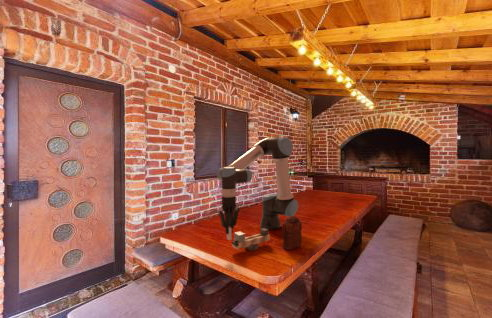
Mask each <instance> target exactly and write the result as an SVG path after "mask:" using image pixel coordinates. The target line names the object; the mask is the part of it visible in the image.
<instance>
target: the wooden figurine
mask: <svg viewBox="0 0 492 318" xmlns="http://www.w3.org/2000/svg"><path fill="white" fill-rule="evenodd" d="M302 230H303V224H302V221H300V219H299V218H298V217H297V216H295V215H294V216H287V218H286V219H285V221H284V222H283V224H282V231H281V233H282V234H281V236H282V239H283V240H282V249H284V250H294V249H297V248H300V247H301V245H302V239H303V238H302V237H303V236H302Z"/></svg>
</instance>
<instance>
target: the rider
mask: <svg viewBox="0 0 492 318" xmlns="http://www.w3.org/2000/svg"><path fill="white" fill-rule="evenodd" d="M245 237H246V233H244V232H243V231H241V230H240V231H236V232H234V233H233V240H235V241H237V242H243V241H245Z"/></svg>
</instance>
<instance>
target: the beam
mask: <svg viewBox="0 0 492 318" xmlns="http://www.w3.org/2000/svg"><path fill="white" fill-rule="evenodd" d="M270 240H271V237H270V234H269V229H265V228H260V233H257V234H253V235H249V236H245V241H243V242H237V241H235V240H234V239H233V240H231V247H232V248H234V249H235V250H239V249H247V250H248V251H250V252H252V251H255V250H259V244H261V243H265V242H268V241H270Z"/></svg>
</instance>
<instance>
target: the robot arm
mask: <svg viewBox="0 0 492 318" xmlns="http://www.w3.org/2000/svg"><path fill="white" fill-rule="evenodd" d="M293 151H294V145H293V142H292V140H291V139H290V138H289V137H285V136H278V137H266V138H264V139H261V140H260V141H258V142H257V143H255V144H253V146H251V149H249V150H248V151H246V152H245V153H244V154H243V155H241V156H240V157H239V158H237V159H236V160H234V161H233V162H232V163H230V164H229V165H227V166H224V167H220V168H219V169H217V172H216V176H217V179H218V180H219V181H221V196H222V197H221V208H220V209H218V210H217V214H218V215H219V218H220V224H221V227H222V228H224V229H225V230H224V231H225V234H226V239H227V240H228V241H233V240H232V238H233V237H232V234H234V233H233V232H234V228H235V227H236V225H237V223H238V222H237V221H238V216H239V212H240V210H241V208H240V207H238V206H237V204H236V202H237V197H236V193H237V191H236V190H237V189H236V188H237V185H238V184H246V183H249V182H251V181H252V178H253V173H252V171H251V170H250V169H246V168H247V167H249V166H250V165H251V164H253V163H255V161H256V160H257V159H259V158H263V157H264V156H268V155H271V156H272V157H271V158H272V160H274V162H275V163H274V165H275V174H276V175H275V176H276V184H277V192H278V193H277V194H276V193H272V194H271V193H270V194H264V195H263V196H262V199H261V206H262V207H261V208H262V209H261V210H262V211H261V212H262V214H261V215H262V216H261V219H260V222H259V227H260V229H262V228H265V229H268V230H278V229H281V227H282V223H281V219H280V217H279V215H280V216H281V215H282V216H283V217H284V216H285V217H290V216H295V215H296V214H297V211H298V209H299V202H298V201H297V200H296V199H295V197H294V194H293V193H292V188H291V178H290V169H289V167H290V166H289V158H290V157H291V154H292V153H293Z"/></svg>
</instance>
